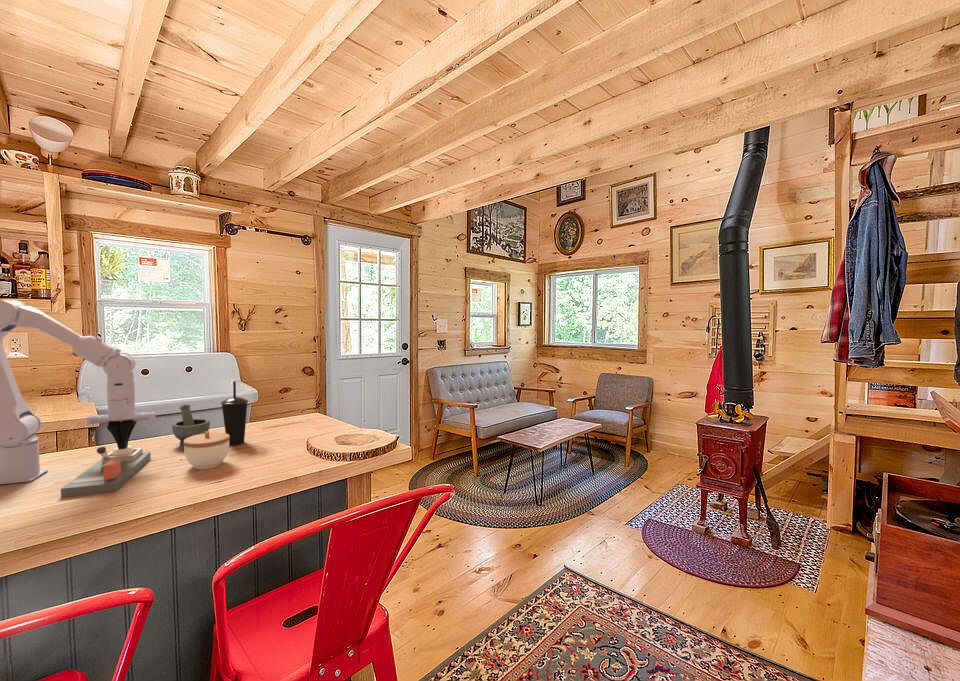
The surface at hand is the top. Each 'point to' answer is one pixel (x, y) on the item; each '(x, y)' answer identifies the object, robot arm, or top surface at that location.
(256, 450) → the top surface
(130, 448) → the push button
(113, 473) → the slide paddle
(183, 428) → the mortar and pestle
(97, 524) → the top surface
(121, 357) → the robot arm
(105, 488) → the panel
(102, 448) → the toggle lever
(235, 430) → the drinking cup
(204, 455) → the lidded jar
